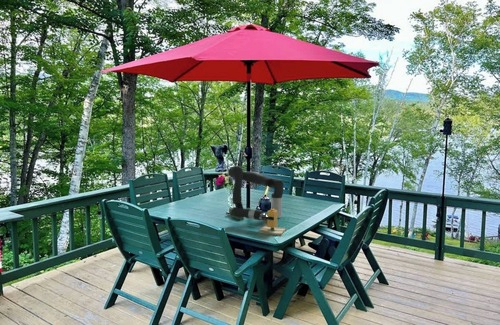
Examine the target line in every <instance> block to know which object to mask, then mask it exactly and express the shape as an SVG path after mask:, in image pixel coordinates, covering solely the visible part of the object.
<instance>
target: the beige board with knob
mask: <svg viewBox="0 0 500 325" xmlns="http://www.w3.org/2000/svg"><path fill="white" fill-rule="evenodd" d="M286 231H287V228H285V227H278V226H277V227H275V228H271V227H267V225H264V226H262V228H260V229H259V230H258V234H261V233H262V234H261V235H264V234H265V235H270V236H279V237H280V236H281V237H282V236H283V235H284V233H285V232H286Z"/></svg>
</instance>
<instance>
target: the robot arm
mask: <svg viewBox="0 0 500 325" xmlns="http://www.w3.org/2000/svg"><path fill="white" fill-rule="evenodd" d="M227 173H228V175H229V177H231V178H233V179H234V186H233V190H232V204H234V207H232V210H231V213H232V215H233V216H236V217H244V218H245V219H246V218H247V219H251V220H255V221H267V220H274V217H269V216H267V212H263V210H260V209H251V208H244V206H243V202H242V188H243V187H242V186H243V181H244V182H245V181H246V182H248V183H251V184H255V185H258V186H265V187H268V188H271V189H273V190H274V191H273V192H272V193H271V203H270V204H271V206H270V207H271V208H270V209H275V210H278V217H277V219H280V218H282V216H283V194H284V181H283V180H282V179H279V178H274V177H268V176H265V175H264V174H262V173H259V172H255V171H247V170H243V167H241V166H239V165H235V166H231V167H230V168H229V169H228V171H227Z"/></svg>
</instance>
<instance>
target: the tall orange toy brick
mask: <svg viewBox="0 0 500 325" xmlns="http://www.w3.org/2000/svg"><path fill="white" fill-rule="evenodd" d="M266 213H267V216H269V217H274V220H266V222H267V223H266V226H267V227H271V228H275V227H278V218H277V217H278V210H275V209H271V208H270V209H269V210H267V212H266Z"/></svg>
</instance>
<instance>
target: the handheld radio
mask: <svg viewBox="0 0 500 325" xmlns="http://www.w3.org/2000/svg"><path fill="white" fill-rule="evenodd" d="M232 209H233V207H229V209H228V212H227V211H226V212H225V214H227V215H228V216H230V217H232V218H235V219H237V220H240V221H244V218H245V217H236V216H233V215H232V213H231V210H232Z"/></svg>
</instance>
